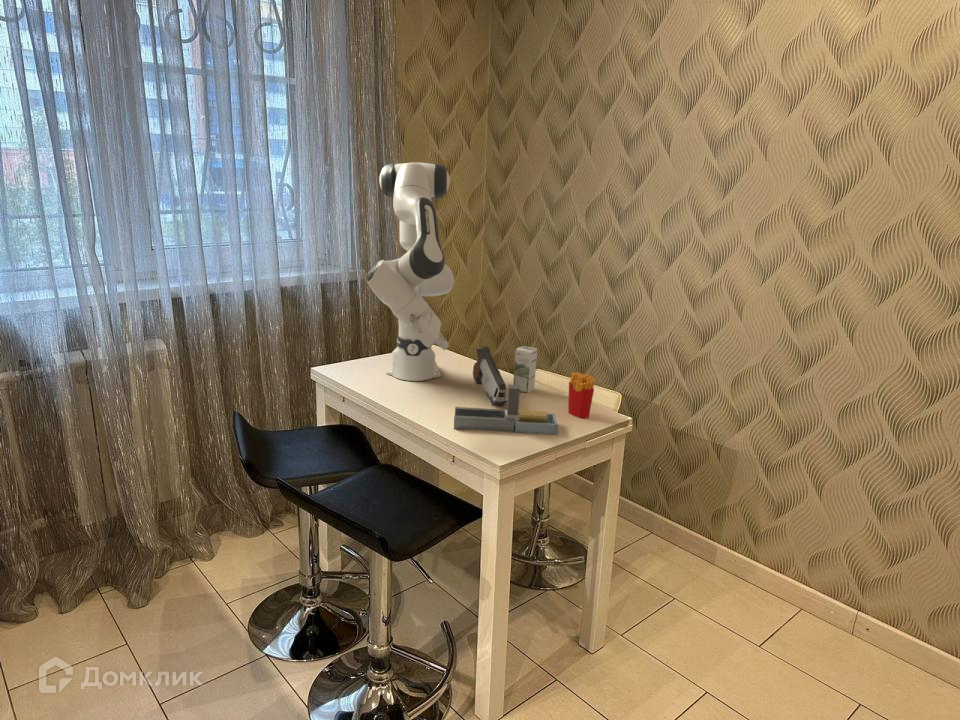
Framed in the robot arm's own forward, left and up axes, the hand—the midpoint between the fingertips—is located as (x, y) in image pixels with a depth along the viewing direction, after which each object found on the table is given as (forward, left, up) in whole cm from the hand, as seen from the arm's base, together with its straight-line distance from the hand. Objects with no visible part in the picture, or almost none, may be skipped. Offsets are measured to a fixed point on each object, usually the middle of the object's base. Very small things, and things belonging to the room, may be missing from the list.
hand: (446, 347), depth 193 cm
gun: (-28, +13, -23) cm, 39 cm away
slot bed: (0, +12, -23) cm, 25 cm away
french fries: (-12, +41, -23) cm, 49 cm away
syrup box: (-33, +25, -23) cm, 48 cm away
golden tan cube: (0, +24, -22) cm, 33 cm away
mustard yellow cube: (0, +28, -22) cm, 36 cm away
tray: (0, +27, -23) cm, 35 cm away
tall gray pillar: (0, +20, -21) cm, 29 cm away
